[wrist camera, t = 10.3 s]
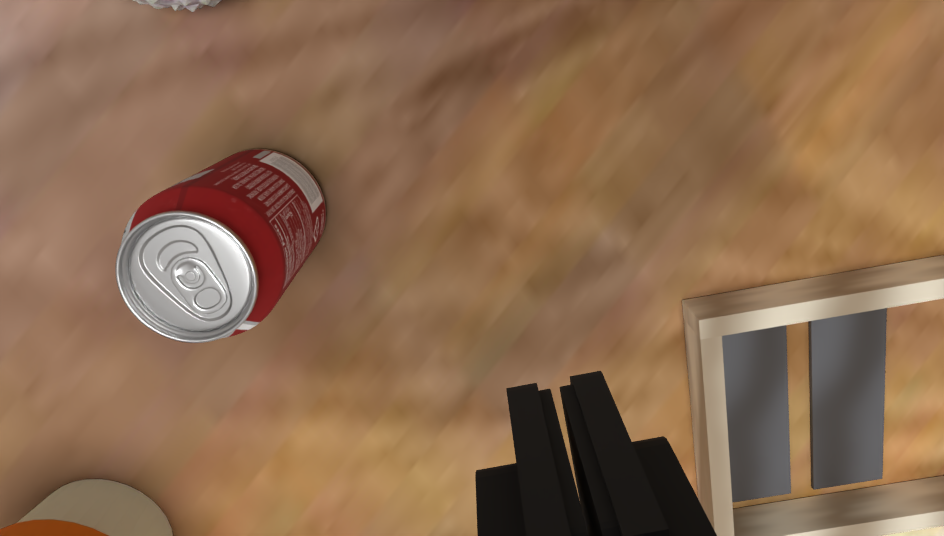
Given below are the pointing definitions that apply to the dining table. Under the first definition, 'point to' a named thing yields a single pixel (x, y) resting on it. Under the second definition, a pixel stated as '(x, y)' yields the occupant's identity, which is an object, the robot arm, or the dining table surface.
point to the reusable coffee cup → (93, 513)
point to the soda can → (220, 246)
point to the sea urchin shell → (179, 3)
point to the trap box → (831, 403)
